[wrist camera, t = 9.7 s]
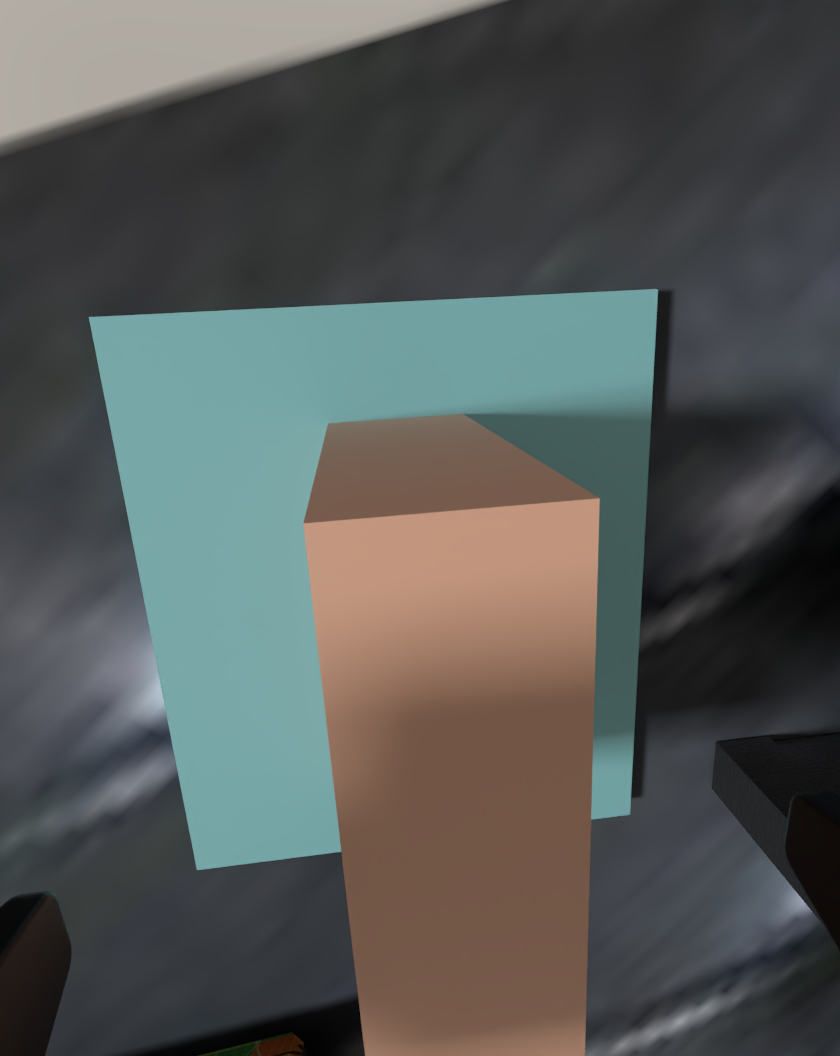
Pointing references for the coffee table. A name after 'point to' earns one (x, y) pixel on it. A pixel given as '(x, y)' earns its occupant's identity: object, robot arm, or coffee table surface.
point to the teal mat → (282, 498)
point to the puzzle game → (267, 1047)
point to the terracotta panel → (458, 731)
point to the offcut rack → (774, 787)
